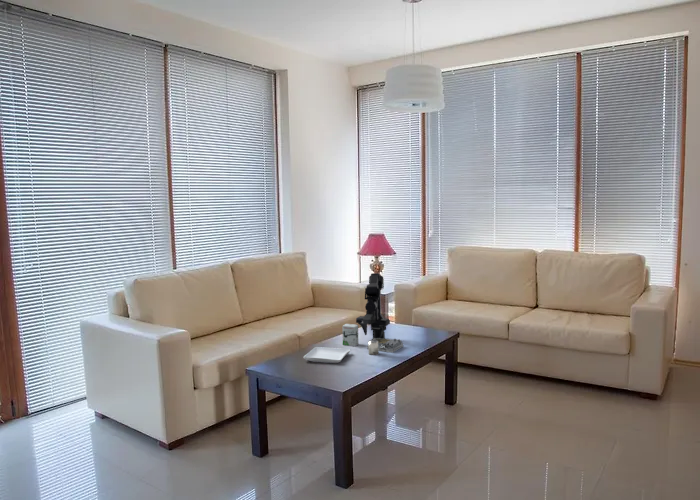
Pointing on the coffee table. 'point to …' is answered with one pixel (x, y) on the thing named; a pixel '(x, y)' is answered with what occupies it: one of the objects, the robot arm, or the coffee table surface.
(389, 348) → the gearbox
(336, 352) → the salad plate
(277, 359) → the coffee table surface
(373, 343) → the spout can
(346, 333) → the ink box
